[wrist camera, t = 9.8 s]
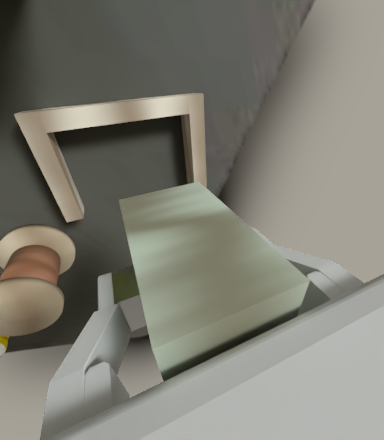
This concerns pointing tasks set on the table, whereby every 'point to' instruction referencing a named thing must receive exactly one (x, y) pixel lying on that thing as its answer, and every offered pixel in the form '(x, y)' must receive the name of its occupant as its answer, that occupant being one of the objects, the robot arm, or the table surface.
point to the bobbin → (32, 277)
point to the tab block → (204, 276)
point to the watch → (3, 344)
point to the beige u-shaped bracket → (105, 115)
